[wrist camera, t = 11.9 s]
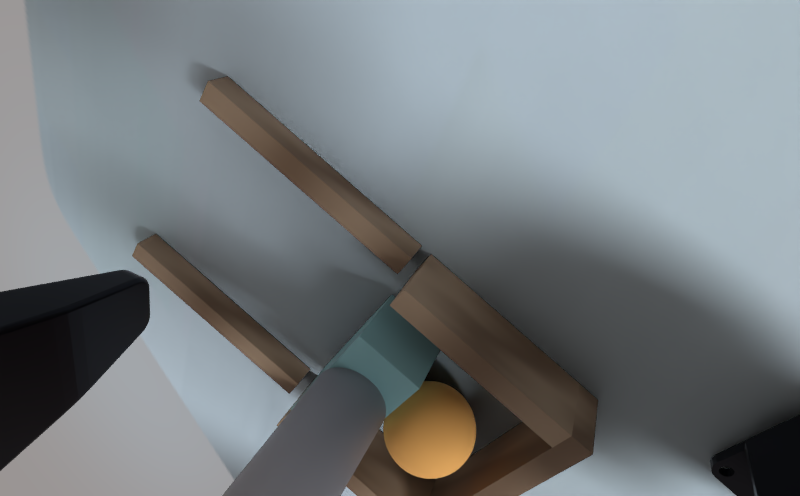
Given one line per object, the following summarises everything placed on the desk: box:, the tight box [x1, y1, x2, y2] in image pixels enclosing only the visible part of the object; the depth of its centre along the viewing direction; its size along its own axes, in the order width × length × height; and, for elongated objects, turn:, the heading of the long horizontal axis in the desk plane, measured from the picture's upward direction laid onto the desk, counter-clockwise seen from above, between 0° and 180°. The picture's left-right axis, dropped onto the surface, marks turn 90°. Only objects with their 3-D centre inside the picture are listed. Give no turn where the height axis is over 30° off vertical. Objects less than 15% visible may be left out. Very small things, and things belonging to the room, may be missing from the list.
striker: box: [223, 295, 440, 496], centre depth 20 cm, size 3×6×12 cm, turn 144°
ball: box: [383, 381, 476, 479], centre depth 23 cm, size 4×4×4 cm
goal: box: [132, 76, 598, 496], centre depth 24 cm, size 20×11×3 cm, turn 54°
